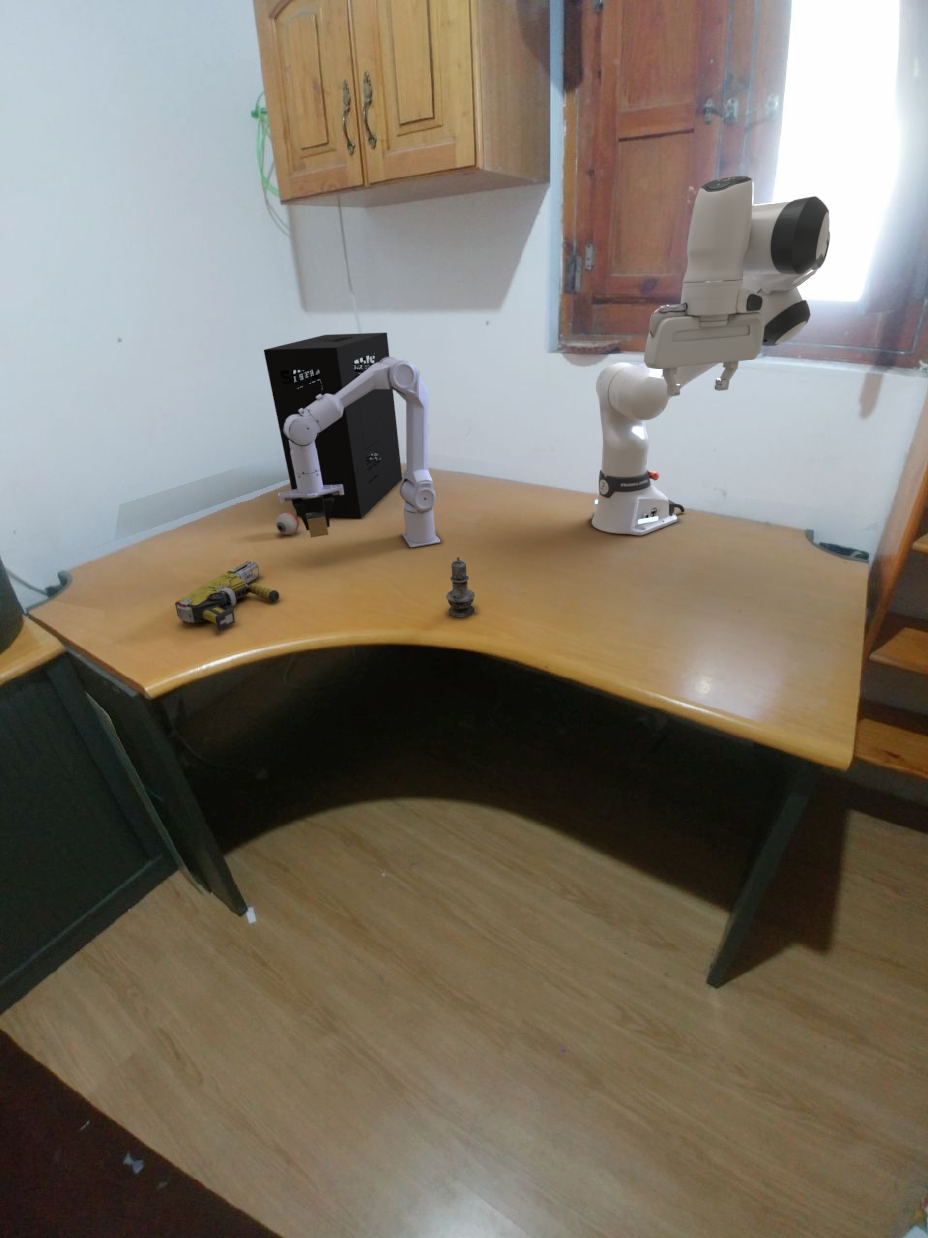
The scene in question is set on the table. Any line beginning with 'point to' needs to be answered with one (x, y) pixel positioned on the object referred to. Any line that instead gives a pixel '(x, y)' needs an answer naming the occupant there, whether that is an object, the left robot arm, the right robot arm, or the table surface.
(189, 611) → the toy gun
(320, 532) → the block
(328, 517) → the left robot arm
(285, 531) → the eyeball
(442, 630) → the table surface
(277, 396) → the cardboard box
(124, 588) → the table surface
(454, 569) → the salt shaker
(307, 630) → the table surface
